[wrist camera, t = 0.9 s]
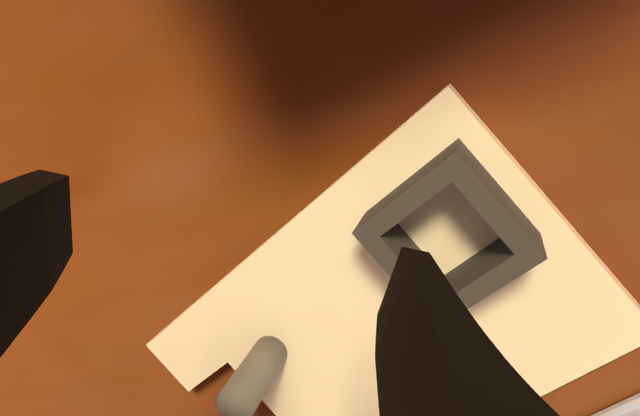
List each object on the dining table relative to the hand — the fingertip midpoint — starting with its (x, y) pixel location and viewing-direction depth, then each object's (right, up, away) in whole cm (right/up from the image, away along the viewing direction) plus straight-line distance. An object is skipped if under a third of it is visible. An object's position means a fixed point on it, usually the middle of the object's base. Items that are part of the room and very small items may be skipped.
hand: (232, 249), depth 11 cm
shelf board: (+5, -6, +19) cm, 20 cm away
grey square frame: (+8, 0, +14) cm, 16 cm away
